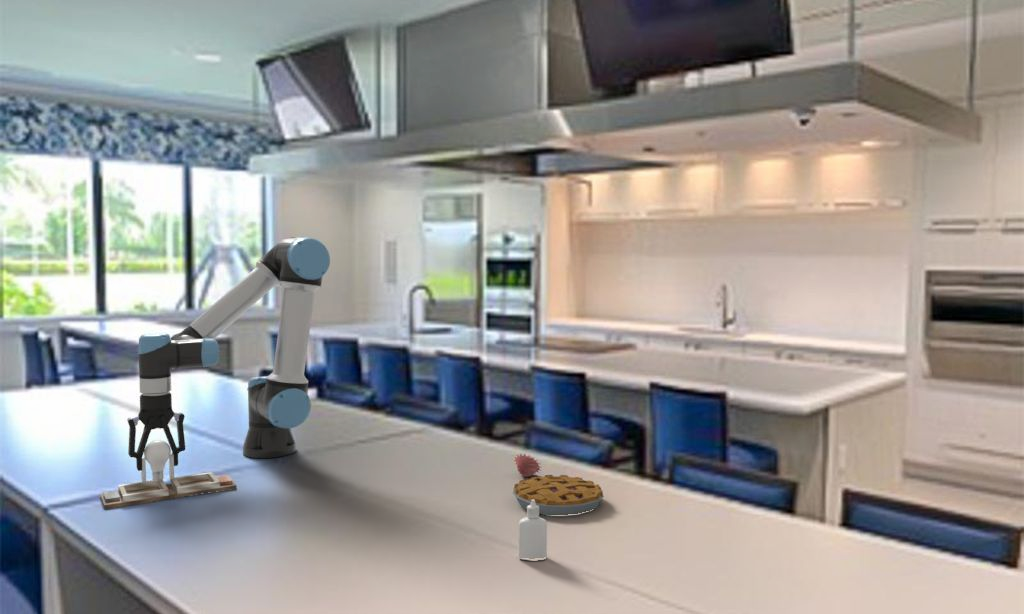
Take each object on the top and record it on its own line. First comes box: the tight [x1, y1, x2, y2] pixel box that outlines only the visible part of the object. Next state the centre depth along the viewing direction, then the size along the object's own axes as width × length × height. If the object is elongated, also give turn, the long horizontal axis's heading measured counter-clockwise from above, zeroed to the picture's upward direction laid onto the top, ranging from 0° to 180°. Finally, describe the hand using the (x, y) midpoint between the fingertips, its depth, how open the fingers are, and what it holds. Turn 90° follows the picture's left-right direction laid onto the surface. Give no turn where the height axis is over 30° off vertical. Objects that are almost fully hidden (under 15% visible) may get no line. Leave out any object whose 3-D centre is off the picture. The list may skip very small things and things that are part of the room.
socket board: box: [100, 471, 237, 510], centre depth 197 cm, size 30×10×2 cm, turn 122°
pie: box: [512, 474, 604, 516], centre depth 191 cm, size 22×22×5 cm
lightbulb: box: [143, 439, 172, 481], centre depth 206 cm, size 6×6×11 cm
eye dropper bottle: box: [518, 499, 548, 559], centre depth 157 cm, size 4×6×12 cm
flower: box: [514, 453, 543, 478], centre depth 214 cm, size 8×8×6 cm
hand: (158, 480), depth 206 cm, fingers closed on lightbulb, 6 cm apart
